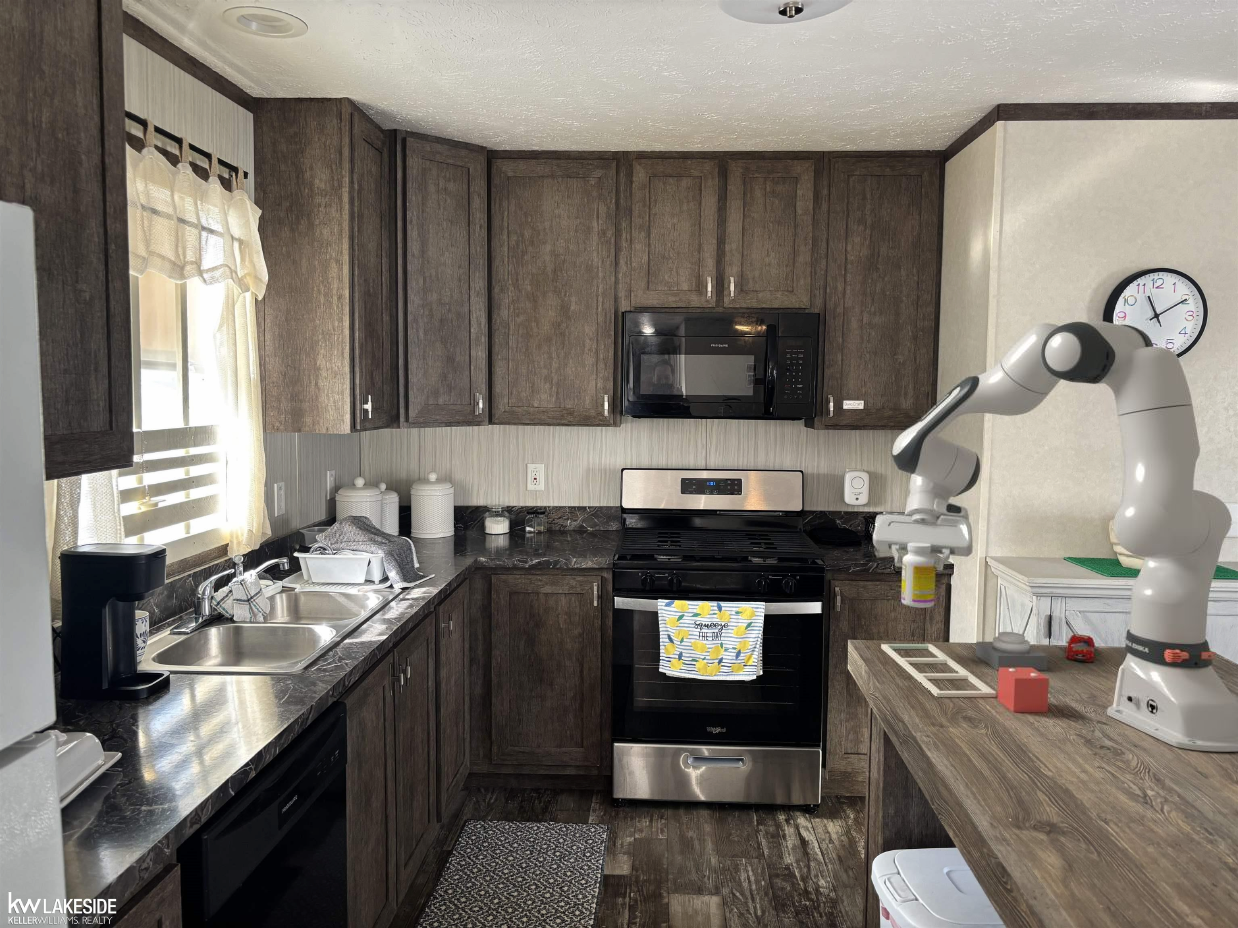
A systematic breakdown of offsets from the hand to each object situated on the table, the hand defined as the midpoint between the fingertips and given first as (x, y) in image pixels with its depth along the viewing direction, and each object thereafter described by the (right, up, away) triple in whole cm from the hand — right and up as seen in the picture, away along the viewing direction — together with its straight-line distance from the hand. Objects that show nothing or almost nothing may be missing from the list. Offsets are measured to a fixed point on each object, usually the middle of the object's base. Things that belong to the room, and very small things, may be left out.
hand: (918, 566), depth 181 cm
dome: (+18, -17, -3) cm, 25 cm away
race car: (+36, -20, +4) cm, 41 cm away
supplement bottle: (0, -8, +1) cm, 8 cm away
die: (+9, -21, -28) cm, 36 cm away
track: (0, -20, -8) cm, 21 cm away
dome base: (+18, -20, -2) cm, 27 cm away
